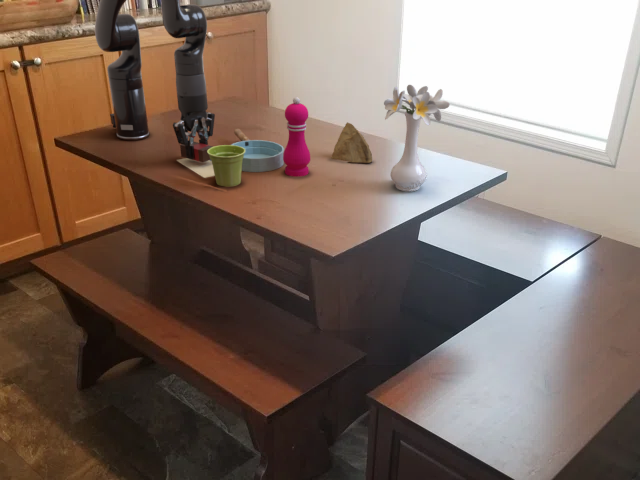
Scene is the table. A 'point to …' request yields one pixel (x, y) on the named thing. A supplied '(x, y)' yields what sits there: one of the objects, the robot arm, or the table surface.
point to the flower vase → (413, 132)
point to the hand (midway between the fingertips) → (197, 155)
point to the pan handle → (241, 136)
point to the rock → (352, 146)
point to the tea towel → (199, 167)
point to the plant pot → (227, 164)
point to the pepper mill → (296, 140)
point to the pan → (261, 155)
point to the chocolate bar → (197, 151)
